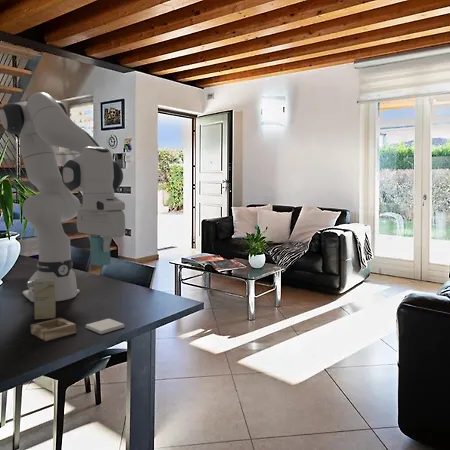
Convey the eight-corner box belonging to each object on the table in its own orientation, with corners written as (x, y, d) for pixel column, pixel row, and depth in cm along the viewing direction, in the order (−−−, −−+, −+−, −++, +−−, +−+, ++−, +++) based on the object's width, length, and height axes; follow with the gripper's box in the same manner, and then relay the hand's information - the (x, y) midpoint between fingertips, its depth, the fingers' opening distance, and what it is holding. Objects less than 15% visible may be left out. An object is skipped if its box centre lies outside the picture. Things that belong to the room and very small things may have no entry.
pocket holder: (30, 333, 124) (30, 324, 124) (60, 325, 131) (60, 317, 131) (45, 341, 118) (45, 332, 118) (76, 332, 125) (75, 324, 125)
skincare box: (34, 320, 136) (32, 282, 135) (35, 315, 140) (34, 279, 139) (55, 318, 138) (54, 280, 137) (56, 314, 142) (55, 277, 141)
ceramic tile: (85, 327, 129) (85, 324, 129) (108, 321, 135) (108, 318, 135) (100, 334, 124) (100, 330, 124) (124, 327, 130) (124, 324, 129)
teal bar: (90, 264, 127) (89, 237, 126) (102, 262, 130) (102, 236, 129) (98, 266, 124) (97, 238, 123) (110, 264, 127) (109, 237, 126)
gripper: (70, 202, 130) (72, 248, 131) (109, 204, 116) (110, 255, 117) (89, 201, 134) (90, 245, 136) (128, 203, 121) (129, 252, 122)
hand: (100, 250), depth 126 cm, fingers closed on teal bar, 4 cm apart
